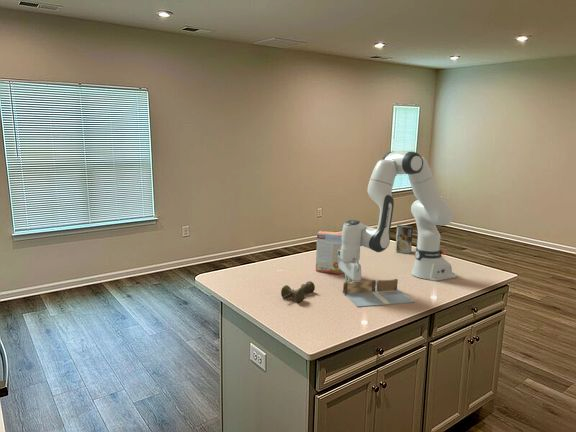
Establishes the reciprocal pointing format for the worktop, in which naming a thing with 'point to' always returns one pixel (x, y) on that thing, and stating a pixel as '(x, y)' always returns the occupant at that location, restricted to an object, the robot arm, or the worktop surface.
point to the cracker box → (328, 251)
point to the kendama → (298, 291)
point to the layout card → (380, 295)
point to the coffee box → (404, 239)
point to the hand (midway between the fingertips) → (348, 283)
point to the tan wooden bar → (359, 286)
